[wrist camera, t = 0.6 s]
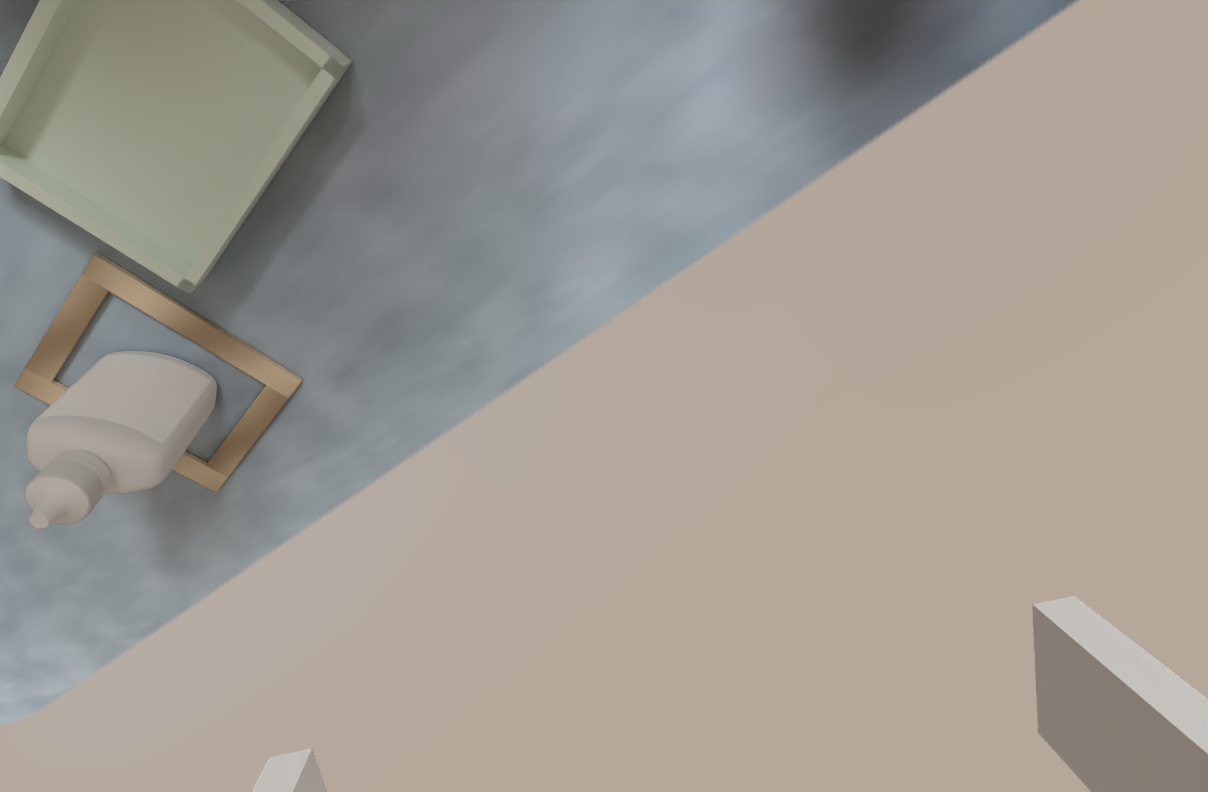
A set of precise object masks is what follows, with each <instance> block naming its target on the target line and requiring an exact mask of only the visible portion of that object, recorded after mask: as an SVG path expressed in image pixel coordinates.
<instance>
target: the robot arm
mask: <svg viewBox="0 0 1208 792" xmlns="http://www.w3.org/2000/svg"><path fill="white" fill-rule="evenodd" d="M1033 627H1034V646H1035V647H1034V649H1035V671H1036V693H1037V713H1038V733H1039V734H1040V735H1041V736H1042V737H1043V738H1044V740H1045V741H1046V742H1047V743H1048V744H1049V745H1050V746H1051V748H1052V749H1053V750H1054V751H1055V752H1056V753H1057V754H1058V755H1059V756H1060V758H1062V760H1063V761H1064V762H1065V763H1066V764H1067V765H1068V766H1069V767H1070V769H1071V770H1072V771H1073V772H1074V773H1075V774H1076V775H1077V776H1078V778H1079V779H1080V780H1081V781H1082V782H1083V783H1084V784H1085V785H1086V786H1087V788H1088V789H1089V790H1090V791H1091V792H1208V699H1207V698H1206V697H1204V696H1203V695H1202V694H1201V693H1199V692H1198V691H1197V690H1196V689H1194V688H1193V687H1192V686H1190V685H1189V684H1187V683H1186V682H1185V681H1184V680H1182V679H1181V678H1180V677H1178V676H1177V675H1176V674H1174V673H1173V672H1172V671H1171V670H1169V669H1168V668H1167V667H1166V666H1164V665H1163V664H1162V663H1160V662H1159V661H1158V660H1156V659H1155V658H1154V657H1153V656H1151V655H1150V654H1149V653H1147V652H1146V651H1145V650H1143V649H1142V648H1141V647H1140V646H1138V645H1137V644H1135V643H1134V642H1133V641H1132V640H1131V639H1129V638H1128V637H1127V636H1125V635H1124V634H1123V633H1121V632H1120V631H1119V630H1118V629H1116V628H1115V627H1113V626H1112V625H1111V624H1110V623H1108V622H1107V621H1106V620H1105V619H1103V618H1102V617H1101V616H1099V615H1098V614H1097V613H1095V612H1094V611H1093V610H1092V609H1090V608H1088V606H1086V605H1085V604H1084V603H1082V602H1081V601H1080V600H1078V599H1077V598H1076V597H1075V596H1072V597H1067V598H1062V599H1057V600H1052V601H1047V602H1042V603H1037V604H1033ZM252 792H327V791H326V788H325V785H324V782H323V779H322V776H321V773H320V770H319V768H318V765H317V762H316V759H315V756H314V753H313V750H312V748H311V749H306V750H301V751H296V752H291V753H286V754H281V755H276V756H271V757H269V759H268V761H267V763H266V765H265V767H264V768H263V770H262V773H261V775H260V776H259V778H258V780H257V782H256V784H255V786H254V788H253V790H252Z"/></svg>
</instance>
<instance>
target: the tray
mask: <svg viewBox="0 0 1208 792" xmlns="http://www.w3.org/2000/svg"><path fill="white" fill-rule="evenodd" d="M352 62H353V61H352V60H351V59H350V58H349V57H347V56H346V55H345V54H344V53H342V52H341V51H340V50H339V49H338V48H336V47H335V46H334V45H333V44H331V43H330V42H329V41H328V40H326V39H325V38H324V37H323V36H321V35H320V34H319V33H318V32H317V31H315V30H314V29H313V28H312V27H310V26H309V25H308V24H307V23H305V22H304V21H303V20H302V19H301V18H299V17H298V16H297V15H296V14H294V13H293V12H292V11H291V10H289V9H288V8H287V7H286V6H285V5H283V4H282V3H281V2H280V1H278V0H40V1H39V3H38V5H37V7H36V8H35V10H34V12H33V14H32V16H31V18H30V20H29V22H28V24H27V26H26V28H25V30H24V32H23V34H22V36H21V38H20V40H19V42H18V44H17V46H16V47H15V49H14V51H13V53H12V55H11V57H10V59H9V61H8V63H7V65H6V67H5V69H4V71H3V73H2V75H1V77H0V177H1V178H2V179H4V180H6V181H7V182H9V183H10V184H12V185H14V186H15V187H17V188H18V189H20V190H22V191H23V192H25V193H26V194H28V195H30V196H31V197H33V198H35V199H36V200H38V201H39V202H41V203H43V204H44V205H46V206H47V207H49V208H51V209H52V210H54V211H55V212H57V213H59V214H60V215H62V216H63V217H65V218H67V219H68V220H70V221H72V222H73V223H75V224H76V225H78V226H80V227H81V228H83V229H84V230H86V231H88V232H89V233H91V234H92V235H94V236H96V237H97V238H99V239H100V240H102V241H104V242H105V243H107V244H109V245H110V246H112V247H113V248H115V249H117V250H118V251H120V252H121V253H123V254H125V255H126V256H128V257H129V258H131V259H133V260H134V261H136V262H137V263H139V264H141V265H142V266H144V267H146V268H147V269H149V270H150V271H152V272H154V273H155V274H157V275H158V276H160V277H162V278H163V279H165V280H166V281H168V282H170V283H171V284H173V285H174V286H176V287H178V288H179V289H181V290H182V291H184V292H186V293H187V294H190V293H191V292H192V291H193V290H195V289H196V288H197V287H198V286H199V285H200V284H201V283H202V282H203V281H204V280H205V279H206V278H207V276H208V275H209V273H210V272H211V271H212V269H213V268H214V266H215V265H216V263H217V262H218V260H219V259H220V257H221V256H222V254H223V253H224V251H225V250H226V248H227V247H228V245H229V244H230V242H231V241H232V239H233V238H234V236H235V235H236V234H237V232H238V231H239V229H240V228H241V226H242V225H243V223H244V222H245V220H246V219H247V217H248V216H249V214H250V213H251V211H252V210H253V208H254V207H255V205H256V204H257V202H258V201H259V199H260V198H261V197H262V195H263V194H264V192H265V191H266V189H267V188H268V186H269V185H270V183H271V182H272V180H273V179H274V177H275V176H276V174H277V173H278V171H279V170H280V168H281V167H282V165H283V164H284V163H285V161H286V160H287V158H288V157H289V155H290V154H291V152H292V151H293V149H294V148H295V146H296V145H297V143H298V142H299V140H300V139H301V137H302V136H303V134H304V133H305V131H306V130H307V128H308V127H309V126H310V124H311V123H312V121H313V120H314V118H315V117H316V115H317V114H318V112H319V111H320V109H321V108H322V106H323V105H324V103H325V102H326V100H327V99H328V97H329V96H330V94H331V93H332V91H333V90H334V89H335V87H336V86H337V84H338V83H339V81H340V80H341V78H342V77H343V75H344V74H345V72H346V71H347V69H348V68H349V66H350V65H351V63H352Z"/></svg>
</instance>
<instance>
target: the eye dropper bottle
mask: <svg viewBox="0 0 1208 792" xmlns="http://www.w3.org/2000/svg"><path fill="white" fill-rule="evenodd" d="M216 394H217V384H216V380H215V379H214V378H213V377H212V376H211V375H210V374H209V373H207V372H206V371H204V370H202V369H200V368H199V367H197V366H195V365H193V364H191V363H188V362H186V361H184V360H181V359H178V358H176V357H172V356H169V355H165V354H161V353H155V352H147V351H119V352H113V353H109V354H107V355H105V356H103V357H102V358H101V359H100V360H98V361H97V362H96V363H95V364H94V365H93V366H92V367H91V368H90V369H89V370H88V371H86V372H85V373H84V374H83V375H82V376H81V377H80V378H79V379H78V380H77V381H75V382H74V383H73V384H72V385H71V386H70V387H69V388H68V389H67V390H66V391H65V392H64V393H62V394H61V395H60V396H59V397H58V398H57V399H56V400H55V401H54V402H53V403H52V404H51V405H50V406H48V407H47V408H46V409H45V410H44V411H43V412H42V413H41V414H40V415H39V416H38V417H37V418H36V419H35V420H34V421H33V423H32V424H31V425H30V427H29V429H28V432H27V438H26V453H27V458H28V460H29V462H30V463H31V464H32V465H33V466H34V467H35V468H36V469H37V470H39V471H40V472H39V473H38V474H37V475H36V476H35V477H34V478H33V479H32V480H31V481H30V482H29V483H28V485H27V486H26V489H25V498H26V501H27V504H28V505H29V507H30V508H31V509H32V510H33V511H32V513H31V515H30V517H29V523H30V525H31V526H33V527H34V528H37V529H45V528H47V527H48V526H49V525H51V524H52V523H53V522H55V523H61V524H68V523H75V522H78V521H80V520H82V519H83V518H85V517H86V516H87V515H88V514H89V513H90V511H91V510H92V509H93V508H94V506H95V505H96V504H97V503H98V501H99V500H100V499H101V498H102V496H103V495H104V494H121V493H130V492H137V491H143V490H147V489H150V488H153V487H155V486H157V485H159V484H160V483H161V482H162V481H163V480H164V479H165V478H166V476H167V475H168V474H169V472H170V471H171V470H172V469H173V467H174V466H175V464H176V463H177V462H178V460H179V459H180V457H181V456H182V455H183V453H184V452H185V450H186V449H187V448H188V446H189V445H190V443H191V442H192V441H193V439H194V438H195V436H196V435H197V433H198V432H199V431H200V429H201V428H202V426H203V425H204V423H205V422H206V421H207V419H208V418H209V416H210V415H211V413H212V411H213V410H214V407H215V401H216Z"/></svg>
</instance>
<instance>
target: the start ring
mask: <svg viewBox="0 0 1208 792" xmlns="http://www.w3.org/2000/svg"><path fill="white" fill-rule="evenodd" d="M109 291H110V292H112V293H113V294H115V295H117V296H118V297H120V298H122V299H123V300H125V301H127V302H128V303H130V304H132V305H133V306H135V307H137V308H138V309H140V310H142V311H143V312H145V313H147V314H148V315H150V316H152V317H153V318H155V319H157V320H158V321H160V322H162V323H163V324H165V325H167V326H168V327H170V328H172V329H173V330H175V331H177V332H178V333H180V334H182V335H183V336H185V337H187V338H188V339H190V340H192V341H193V342H195V343H197V344H198V345H200V346H202V347H203V348H205V349H207V350H208V351H210V352H212V353H213V354H215V355H217V356H218V357H220V358H222V359H223V360H225V361H227V362H228V363H230V364H232V365H233V366H235V367H237V368H238V369H240V370H242V371H243V372H245V373H247V374H248V375H250V376H252V377H253V378H255V379H257V380H258V381H260V382H262V383H264V384H265V385H266V386H265V387H264V388H263V390H262V391H261V392H260V394H259V395H258V396H257V398H256V399H255V400H254V402H253V403H252V404H251V406H250V407H249V408H248V410H247V411H246V412H245V414H244V415H243V416H242V418H241V419H240V420H239V422H238V423H237V424H236V426H235V427H234V428H233V430H232V431H231V432H230V434H229V435H228V436H227V438H226V439H225V440H224V442H223V443H222V444H221V446H220V447H219V448H218V450H217V451H216V452H215V454H214V455H213V456H212V458H211V459H210V460H209V462H208V463H207V462H205V461H204V460H202V459H200V458H198V457H196V456H194V455H192V454H191V453H189V452H187V451H185V452H184V453H183V455H182V456H181V457H180V459H179V460H178V462H177V463H176V464H175V466H174V467H173V469H172V470H174V471H176V472H178V473H180V474H181V475H183V476H185V477H187V478H189V479H191V480H193V481H195V482H197V483H199V484H200V485H202V486H204V487H206V488H208V489H210V490H212V491H214V492H217V491H218V489H219V488H220V487H221V486H222V484H223V483H224V482H225V480H226V479H227V478H228V476H229V475H230V474H231V473H232V471H233V470H234V469H235V467H236V466H237V465H238V463H239V462H240V461H241V459H242V458H243V457H244V456H245V454H246V453H247V452H248V450H249V449H250V448H251V446H252V445H253V444H254V443H255V441H256V440H257V439H258V437H259V436H260V435H261V433H262V432H263V431H264V430H265V428H266V427H267V426H268V424H269V423H270V422H271V420H272V419H273V418H274V417H275V415H276V414H277V413H278V411H279V410H280V409H281V407H282V406H283V405H284V403H285V402H286V401H287V400H288V398H289V397H290V396H291V394H292V393H293V392H294V390H295V389H296V388H297V387H298V385H299V384H300V383H301V381H302V378H301V377H299V376H297V375H296V374H294V373H292V372H291V371H289V370H288V369H286V368H284V367H283V366H281V365H279V364H278V363H276V362H275V361H273V360H271V359H270V358H268V357H266V356H265V355H263V354H262V353H260V352H258V351H257V350H255V349H253V348H252V347H250V346H248V345H247V344H245V343H244V342H242V341H240V340H239V339H237V338H235V337H234V336H232V335H231V334H229V333H227V332H226V331H224V330H222V329H221V328H219V327H218V326H216V325H214V324H213V323H211V322H209V321H208V320H206V319H205V318H203V317H201V316H200V315H198V314H196V313H195V312H193V311H192V310H190V309H188V308H187V307H185V306H183V305H182V304H180V303H178V302H177V301H175V300H174V299H172V298H170V297H169V296H167V295H165V294H164V293H162V292H161V291H159V290H157V289H156V288H154V287H152V286H151V285H149V284H148V283H146V282H144V281H143V280H141V279H139V278H138V277H136V276H135V275H133V274H131V273H130V272H128V271H126V270H125V269H123V268H122V267H120V266H118V265H117V264H115V263H113V262H112V261H110V260H108V259H107V258H105V257H104V256H102V255H100V254H99V253H95V254H94V255H93V257H92V258H91V260H90V262H89V263H88V265H87V267H86V268H85V270H84V272H83V273H82V275H81V276H80V278H79V280H78V281H77V283H76V285H75V286H74V288H73V290H72V291H71V293H70V295H69V296H68V298H67V299H66V301H65V303H64V304H63V306H62V308H61V309H60V311H59V313H58V314H57V316H56V318H55V319H54V321H53V322H52V324H51V326H50V327H49V329H48V331H47V332H46V334H45V336H44V337H43V339H42V340H41V342H40V344H39V345H38V347H37V349H36V350H35V352H34V354H33V355H32V357H31V359H30V360H29V362H28V363H27V365H26V367H25V368H24V370H23V372H22V373H21V375H20V377H19V378H18V380H17V382H16V383H15V385H14V387H16V388H18V389H20V390H22V391H24V392H26V393H28V394H30V395H31V396H33V397H35V398H37V399H39V400H41V401H43V402H45V403H47V404H48V405H51V404H52V403H53V402H54V401H55V400H56V399H57V398H58V397H59V396H60V395H61V394H62V393H64V392H65V391H66V390H67V389H68V387H66V386H65V385H63V384H61V383H59V382H57V381H55V380H54V379H55V377H56V376H57V374H58V372H59V371H60V369H61V368H62V366H63V364H64V363H65V361H66V360H67V358H68V357H69V355H70V353H71V352H72V350H73V349H74V347H75V345H76V344H77V342H78V341H79V339H80V337H81V336H82V334H83V333H84V331H85V329H86V328H87V326H88V325H89V323H90V322H91V320H92V318H93V317H94V315H95V314H96V312H97V310H98V309H99V307H100V306H101V304H102V302H103V301H104V299H105V298H106V296H107V295H108V293H109Z"/></svg>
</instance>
